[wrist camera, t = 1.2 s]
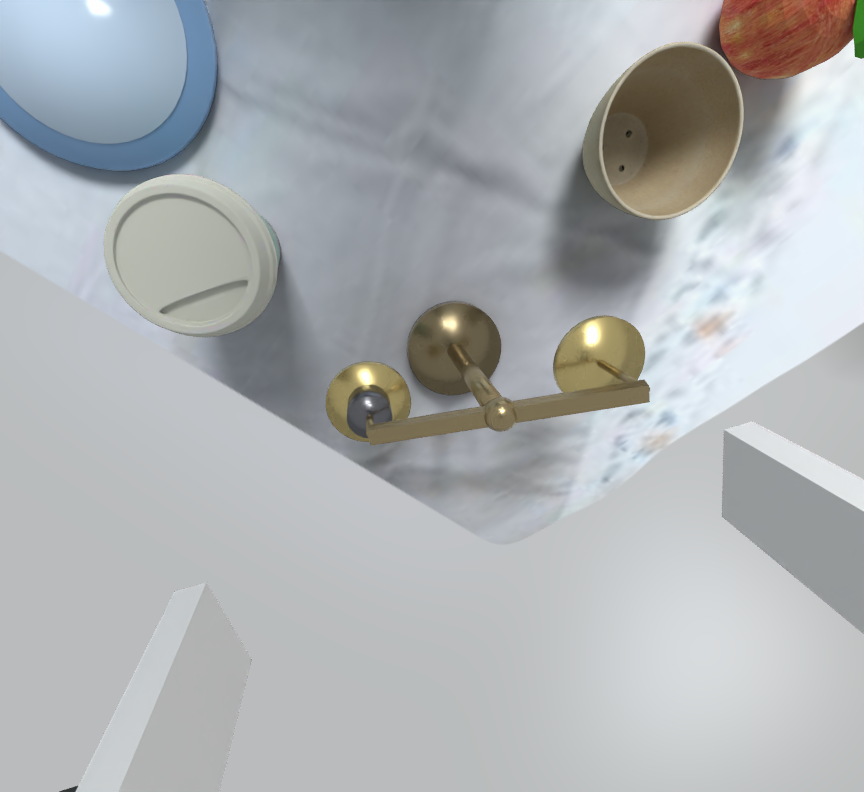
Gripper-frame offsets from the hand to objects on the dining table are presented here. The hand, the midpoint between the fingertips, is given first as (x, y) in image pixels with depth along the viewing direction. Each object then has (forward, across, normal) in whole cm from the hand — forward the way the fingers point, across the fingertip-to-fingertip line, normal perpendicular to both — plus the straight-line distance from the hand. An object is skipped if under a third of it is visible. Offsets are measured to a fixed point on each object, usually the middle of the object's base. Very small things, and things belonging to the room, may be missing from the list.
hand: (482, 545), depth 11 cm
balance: (+29, +4, -4) cm, 29 cm away
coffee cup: (+29, -10, +8) cm, 32 cm away
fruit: (+29, +31, +14) cm, 45 cm away
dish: (+29, -14, +22) cm, 39 cm away
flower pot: (+29, +20, +8) cm, 36 cm away
